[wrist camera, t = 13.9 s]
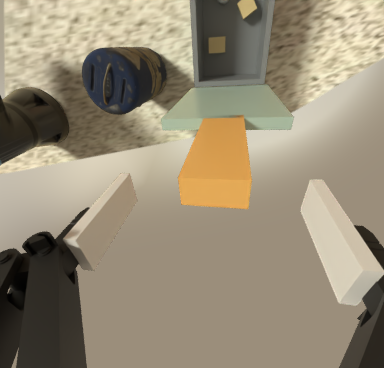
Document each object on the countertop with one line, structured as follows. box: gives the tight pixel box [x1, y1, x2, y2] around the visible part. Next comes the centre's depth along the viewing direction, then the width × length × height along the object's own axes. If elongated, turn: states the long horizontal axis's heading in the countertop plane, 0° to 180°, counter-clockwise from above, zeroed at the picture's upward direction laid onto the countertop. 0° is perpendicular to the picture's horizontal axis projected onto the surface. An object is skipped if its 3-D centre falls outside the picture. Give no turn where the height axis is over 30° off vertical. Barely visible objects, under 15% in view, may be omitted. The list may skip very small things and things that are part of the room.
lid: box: [161, 85, 294, 209], centre depth 23 cm, size 13×30×2 cm
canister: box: [82, 47, 167, 115], centre depth 36 cm, size 10×10×18 cm
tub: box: [190, 0, 275, 87], centre depth 33 cm, size 12×18×9 cm, turn 4°
